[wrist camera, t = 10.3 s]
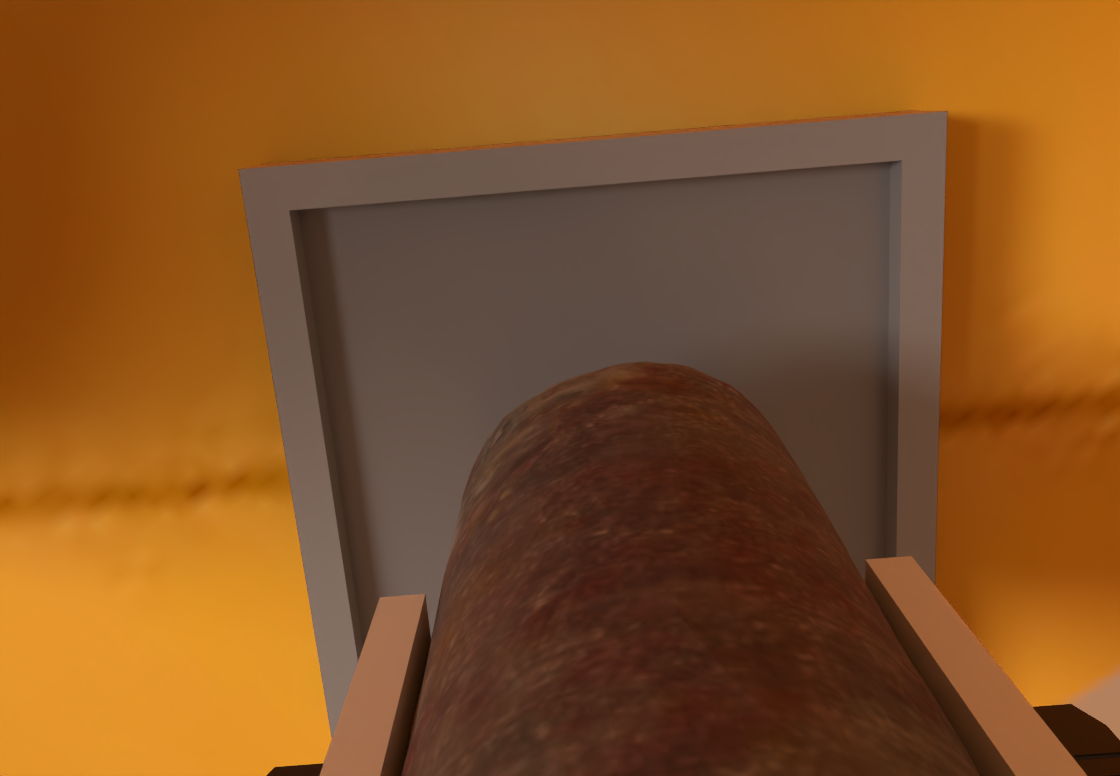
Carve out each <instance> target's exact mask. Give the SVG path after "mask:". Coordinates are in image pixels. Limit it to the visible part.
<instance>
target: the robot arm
mask: <svg viewBox="0 0 1120 776" xmlns="http://www.w3.org/2000/svg"><path fill="white" fill-rule="evenodd" d="M865 583H866V584H867V586H868V588H869V589H870V591H871V593H872V594H873V596H874V598H875V600H876V601H877V603H878V605H879V607H880V609H881V610H882V612H883V614H884V616H885V618H886V619H887V621H888V623H889V625H890V626H891V628H892V630H893V632H894V634H895V635H896V637H897V639H898V641H899V642H900V644H901V646H902V647H903V649H904V650H905V652H906V654H907V655H908V657H909V659H910V660H911V662H912V663H913V665H914V666H915V668H916V669H917V671H918V672H919V674H920V675H921V676H922V678H923V679H924V681H925V682H926V684H927V686H928V687H929V689H930V691H931V692H932V694H933V696H934V697H935V699H936V701H937V702H938V704H939V706H940V707H941V709H942V711H943V712H944V714H945V716H946V717H947V719H948V721H949V722H950V724H951V726H952V727H953V729H954V731H955V732H956V734H957V736H958V737H959V739H960V741H961V743H962V744H963V746H964V748H965V749H966V751H967V753H968V754H969V756H970V758H971V760H972V761H973V763H974V765H975V767H976V769H977V771H978V773H979V775H980V776H1120V740H1119V739H1118V738H1117V737H1116V736H1115V735H1114V733H1113V732H1112V731H1111V730H1110V729H1109V728H1108V727H1107V726H1106V725H1105V724H1103V723H1102V722H1100V721H1098V720H1097V719H1095V718H1093V717H1092V716H1090V715H1088V714H1087V713H1085V712H1083V711H1082V710H1080V709H1078V708H1077V707H1075V706H1073V705H1072V704H1066V705H1052V706H1039V707H1032V706H1031V705H1030V703H1029V702H1028V701H1027V700H1026V698H1025V697H1024V696H1023V695H1022V693H1021V692H1020V691H1019V690H1018V688H1017V687H1016V686H1015V685H1014V683H1013V682H1012V681H1011V680H1010V678H1009V677H1008V676H1007V675H1006V673H1005V672H1004V671H1003V670H1002V668H1001V667H1000V666H999V665H998V664H997V662H996V661H995V660H994V659H993V657H992V656H991V655H990V654H989V652H988V651H987V650H986V649H985V647H984V646H983V645H982V644H981V642H980V641H979V640H978V639H977V637H976V636H975V635H974V634H973V632H972V631H971V630H970V629H969V627H968V626H967V625H966V624H965V622H964V621H963V620H962V619H961V617H960V616H959V615H958V614H957V612H956V611H955V610H954V609H953V607H952V606H951V605H950V604H949V602H948V601H947V600H946V599H945V597H944V596H943V595H942V594H941V592H940V591H939V590H938V589H937V587H936V586H935V585H934V584H933V582H932V581H931V580H930V579H929V577H928V576H927V575H926V574H925V572H924V571H923V570H922V569H921V567H920V566H919V565H918V564H917V562H916V561H915V560H914V559H913V557H912V556H905V557H892V558H879V559H866V563H865ZM430 643H431V634H430V626H429V618H428V611H427V603H426V595H425V594H416V595H403V596H390V597H380V599H379V601H378V604H377V607H376V610H375V613H374V616H373V619H372V622H371V625H370V628H369V631H368V634H367V637H366V640H365V643H364V646H363V649H362V652H361V655H360V658H359V661H358V663H357V666H356V669H355V672H354V675H353V678H352V681H351V684H350V687H349V690H348V693H347V696H346V699H345V702H344V705H343V708H342V711H341V714H340V717H339V720H338V723H337V725H336V728H335V731H334V734H333V737H332V740H331V743H330V746H329V749H328V752H327V755H326V758H325V761H324V764H311V765H298V766H284V767H275V768H274V769H273V770H272V771H271V772H270V773H269V774H268V775H267V776H401V773H402V769H403V765H404V761H405V758H406V754H407V750H408V744H409V738H410V732H411V726H412V722H413V718H414V714H415V710H416V706H417V702H418V698H419V694H420V689H421V685H422V680H423V675H424V671H425V666H426V661H427V657H428V652H429V647H430Z"/></svg>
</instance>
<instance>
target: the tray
mask: <svg viewBox="0 0 1120 776" xmlns="http://www.w3.org/2000/svg"><path fill="white" fill-rule="evenodd" d="M946 139H947V111H918V110H909V111H897V112H885V113H873V114H861V115H849V116H836V117H824V118H812V119H800V120H788V121H776V122H764V123H751V124H739V125H727V126H715V127H703V128H691V129H678V130H666V131H654V132H642V133H630V134H618V135H605V136H593V137H581V138H569V139H557V140H545V141H533V142H520V143H508V144H496V145H484V146H472V147H460V148H447V149H435V150H423V151H411V152H399V153H387V154H374V155H362V156H350V157H338V158H326V159H314V160H302V161H289V162H277V163H265V164H261V165H256V166H252V167H247V168H243V169H238V170H239V176H240V182H241V188H242V194H243V200H244V206H245V213H246V219H247V225H248V231H249V237H250V243H251V249H252V255H253V261H254V267H255V273H256V280H257V286H258V292H259V298H260V304H261V310H262V316H263V322H264V328H265V334H266V340H267V347H268V353H269V359H270V365H271V371H272V377H273V383H274V389H275V395H276V401H277V408H278V414H279V420H280V426H281V432H282V438H283V444H284V450H285V456H286V462H287V468H288V475H289V481H290V487H291V493H292V499H293V505H294V511H295V517H296V523H297V529H298V535H299V542H300V548H301V554H302V560H303V566H304V572H305V578H306V584H307V590H308V596H309V603H310V609H311V615H312V621H313V627H314V633H315V639H316V645H317V651H318V657H319V663H320V670H321V676H322V682H323V688H324V694H325V700H326V706H327V712H328V718H329V724H330V730H331V737H333V734H334V731H335V728H336V725H337V723H338V720H339V717H340V714H341V711H342V708H343V705H344V702H345V699H346V696H347V693H348V690H349V687H350V684H351V681H352V678H353V675H354V672H355V669H356V666H357V663H358V661H359V658H360V655H361V652H362V649H363V646H364V643H365V640H366V637H367V634H368V631H369V628H370V625H371V622H372V619H373V616H374V613H375V610H376V607H377V604H378V601H379V599H380V597H390V596H403V595H416V594H425V595H426V603H427V611H428V618H429V626H430V634H431V638H432V633H433V628H434V623H435V619H436V613H437V608H438V603H439V598H440V593H441V588H442V582H443V577H444V574H445V570H446V567H447V563H448V559H449V554H450V549H451V545H452V541H453V537H454V534H455V530H456V525H457V521H458V517H459V513H460V509H461V502H462V497H463V494H464V491H465V488H466V485H467V482H468V479H469V476H470V473H471V470H472V468H473V466H474V464H475V462H476V460H477V457H478V455H479V453H480V451H481V449H482V447H483V445H484V443H485V441H486V440H487V438H488V436H489V435H490V434H491V433H492V432H493V431H494V429H495V428H496V427H497V426H498V424H499V423H500V422H501V420H502V419H503V418H504V417H505V416H506V415H508V414H509V413H510V412H512V411H513V410H514V409H515V408H517V407H518V406H519V405H520V404H522V403H523V402H525V401H527V400H529V399H531V398H532V397H534V396H536V395H537V394H539V393H541V392H542V391H544V390H546V389H547V388H549V387H551V386H552V385H554V384H556V383H559V382H562V381H565V380H567V379H570V378H573V377H576V376H579V375H583V374H586V373H590V372H593V371H597V370H600V369H602V368H606V367H609V366H613V365H616V364H623V363H633V362H643V361H648V362H654V363H660V364H664V363H673V364H679V365H684V366H689V367H692V368H694V369H696V370H698V371H700V372H702V373H705V374H707V375H709V376H711V377H713V378H715V379H717V380H720V381H722V382H725V383H727V384H730V385H731V386H733V387H734V388H735V389H737V390H738V391H739V392H740V393H741V394H742V395H744V396H745V397H746V398H747V399H748V400H749V401H750V402H751V403H752V404H753V405H754V406H755V407H756V408H757V409H758V410H759V412H760V413H761V414H762V415H763V416H764V417H765V419H766V420H767V421H768V422H769V423H770V425H771V426H772V427H773V429H774V430H775V432H776V433H777V435H778V436H779V438H780V439H781V441H782V443H783V444H784V446H785V447H786V449H787V450H788V452H789V453H790V455H791V456H792V458H793V460H794V461H795V463H796V464H797V466H798V467H799V469H800V471H801V472H802V474H803V475H804V477H805V479H806V481H807V483H808V484H809V486H810V488H811V489H812V491H813V493H814V494H815V496H816V498H817V499H818V501H819V503H820V504H821V506H822V508H823V509H824V511H825V512H826V514H827V516H828V518H829V519H830V521H831V523H832V525H833V526H834V528H835V530H836V531H837V533H838V535H839V537H840V538H841V540H842V542H843V544H844V545H845V547H846V549H847V551H848V553H849V555H850V557H851V559H852V560H853V562H854V564H855V566H856V567H857V569H858V571H859V573H860V574H861V576H862V578H863V580H864V581H865V563H866V559H879V558H892V557H905V556H912V557H913V559H914V560H915V561H916V562H917V564H918V565H919V566H920V567H921V569H922V570H923V571H924V572H925V574H926V575H927V576H928V577H929V579H930V580H931V581H932V582H933V584H934V585H935V565H936V526H937V487H938V449H939V410H940V371H941V333H942V294H943V255H944V217H945V178H946Z"/></svg>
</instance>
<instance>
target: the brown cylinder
mask: <svg viewBox="0 0 1120 776" xmlns="http://www.w3.org/2000/svg"><path fill="white" fill-rule="evenodd" d="M401 776H980V775H979V773H978V771H977V769H976V767H975V765H974V763H973V761H972V760H971V758H970V756H969V754H968V753H967V751H966V749H965V748H964V746H963V744H962V743H961V741H960V739H959V737H958V736H957V734H956V732H955V731H954V729H953V727H952V726H951V724H950V722H949V721H948V719H947V717H946V716H945V714H944V712H943V711H942V709H941V707H940V706H939V704H938V702H937V701H936V699H935V697H934V696H933V694H932V692H931V691H930V689H929V687H928V686H927V684H926V682H925V681H924V679H923V678H922V676H921V675H920V674H919V672H918V671H917V669H916V668H915V666H914V665H913V663H912V662H911V660H910V659H909V657H908V655H907V654H906V652H905V650H904V649H903V647H902V646H901V644H900V642H899V641H898V639H897V637H896V635H895V634H894V632H893V630H892V628H891V626H890V625H889V623H888V621H887V619H886V618H885V616H884V614H883V612H882V610H881V609H880V607H879V605H878V603H877V601H876V600H875V598H874V596H873V594H872V593H871V591H870V589H869V588H868V586H867V584H866V583H865V581H864V580H863V578H862V576H861V574H860V573H859V571H858V569H857V567H856V566H855V564H854V562H853V560H852V559H851V557H850V555H849V553H848V551H847V549H846V547H845V545H844V544H843V542H842V540H841V538H840V537H839V535H838V533H837V531H836V530H835V528H834V526H833V525H832V523H831V521H830V519H829V518H828V516H827V514H826V512H825V511H824V509H823V508H822V506H821V504H820V503H819V501H818V499H817V498H816V496H815V494H814V493H813V491H812V489H811V488H810V486H809V484H808V483H807V481H806V479H805V477H804V475H803V474H802V472H801V471H800V469H799V467H798V466H797V464H796V463H795V461H794V460H793V458H792V456H791V455H790V453H789V452H788V450H787V449H786V447H785V446H784V444H783V443H782V441H781V439H780V438H779V436H778V435H777V433H776V432H775V430H774V429H773V427H772V426H771V425H770V423H769V422H768V421H767V420H766V419H765V417H764V416H763V415H762V414H761V413H760V412H759V410H758V409H757V408H756V407H755V406H754V405H753V404H752V403H751V402H750V401H749V400H748V399H747V398H746V397H745V396H744V395H742V394H741V393H740V392H739V391H738V390H737V389H735V388H734V387H733V386H731V385H730V384H727V383H725V382H722V381H720V380H717V379H715V378H713V377H711V376H709V375H707V374H705V373H702V372H700V371H698V370H696V369H694V368H692V367H689V366H684V365H679V364H673V363H664V364H660V363H654V362H648V361H643V362H633V363H623V364H616V365H613V366H609V367H606V368H602V369H600V370H597V371H593V372H590V373H586V374H583V375H579V376H576V377H573V378H570V379H567V380H565V381H562V382H559V383H556V384H554V385H552V386H551V387H549V388H547V389H546V390H544V391H542V392H541V393H539V394H537V395H536V396H534V397H532V398H531V399H529V400H527V401H525V402H523V403H522V404H520V405H519V406H518V407H517V408H515V409H514V410H513V411H512V412H510V413H509V414H508V415H506V416H505V417H504V418H503V419H502V420H501V422H500V423H499V424H498V426H497V427H496V428H495V429H494V431H493V432H492V433H491V434H490V435H489V436H488V438H487V440H486V441H485V443H484V445H483V447H482V449H481V451H480V453H479V455H478V457H477V460H476V462H475V464H474V466H473V468H472V470H471V473H470V476H469V479H468V482H467V485H466V488H465V491H464V494H463V497H462V502H461V509H460V513H459V517H458V521H457V525H456V530H455V534H454V537H453V541H452V545H451V549H450V554H449V559H448V563H447V567H446V570H445V574H444V577H443V582H442V588H441V593H440V598H439V603H438V608H437V613H436V619H435V623H434V628H433V633H432V638H431V643H430V647H429V652H428V657H427V661H426V666H425V671H424V675H423V680H422V685H421V689H420V694H419V698H418V702H417V706H416V710H415V714H414V718H413V722H412V726H411V732H410V738H409V744H408V750H407V754H406V758H405V761H404V765H403V769H402V773H401Z"/></svg>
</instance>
